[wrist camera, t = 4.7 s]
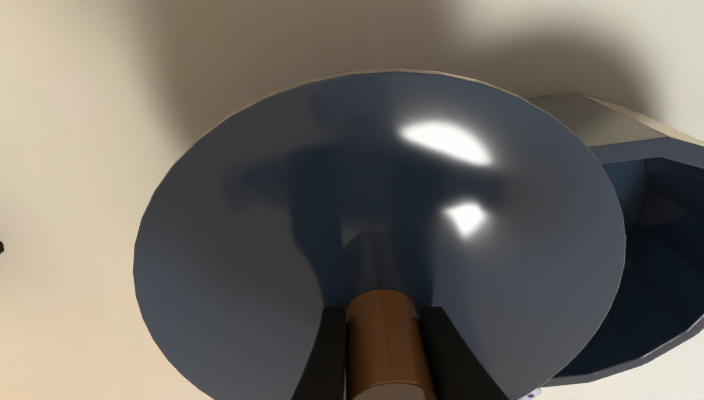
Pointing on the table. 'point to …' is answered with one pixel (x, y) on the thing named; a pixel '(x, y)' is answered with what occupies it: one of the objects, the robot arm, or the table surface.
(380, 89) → the lid
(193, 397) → the table surface
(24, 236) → the table surface
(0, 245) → the mate gourd
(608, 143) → the pot
